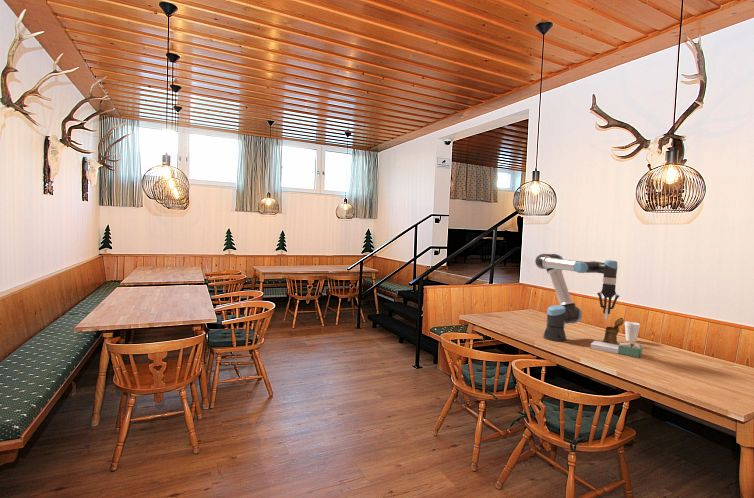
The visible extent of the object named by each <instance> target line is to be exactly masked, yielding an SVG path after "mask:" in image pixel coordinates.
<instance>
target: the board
mask: <svg viewBox="0 0 754 498" xmlns="http://www.w3.org/2000/svg"><path fill="white" fill-rule="evenodd" d="M618 347H619V344H617V345H615V344H610V343H605V342H603V341H598V340H593V341H592V342H591V343H590V349H592V350H597V351H601V352H607V353H612V354H616V355H619V354H618Z"/></svg>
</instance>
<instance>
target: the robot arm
mask: <svg viewBox="0 0 754 498" xmlns="http://www.w3.org/2000/svg"><path fill="white" fill-rule="evenodd" d="M534 262H535V263H534V264H535V265H536V267H537V268H539V269H540V270H541V269H542V270H546V273H547V274H549V276H550V278H551V282H552V285H553V288H554V291H555V294H556V297H557V300H558V303H559V305H556V304H555V305H550V306H549V307H548V308H547V311H546V314H547V315H546V328H545V329H544V332H543V335H542V337H543V338H544V339H545V340H549V341H553V342H565V341H566V340H567V335H566V331H565V324H576V323H578V322H580V321H581V320H582V317H583V313H582V310H581V308H579V307H578V306H577V305H576V303H575V302H574V301H572V297H571V295H570V292H569V289H568V286H567V282H566V280H565V277H564V274H563V271H570V272H575V273H578V274H587V273H588V274H591V273H592V274H603V278H602V282H603V283H602V287H601V290H600V292H597V295H598V300H599V304H600V308H602V309H603V310H602V312H603V315H604V319H605V320H608V318H609V315H610V314H611V310H613V309H614V308H615V306H616V303H617V301H618V299H619V297H620V295H619V294H617V292H616V286H617V285H616V284H617V275H618V274H617V273H618V268H619V266H618V261H617V260H611V259H610V260H609V259H606V260H604V262H602V261H601V262H600V261H595V260H590V261H582V260H572V259H566V258H565V259H564V258H563V256H562V255H559V253H558V254H557V253H540V254H539V255H537V256H536V257H535V261H534ZM602 296H603V297H604V298H603V297H602ZM613 297H614V300H613V302H612V298H613ZM607 302H608V304H607Z"/></svg>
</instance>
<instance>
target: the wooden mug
mask: <svg viewBox="0 0 754 498" xmlns="http://www.w3.org/2000/svg"><path fill="white" fill-rule="evenodd" d="M624 322H625V321H624V318H623V317H620V318H618V319H616V320H615V322H614V326H613V327H612V326H606V328H605V330H604V331H605V332H604V336H603V337H604V338H603V341H602V342H605V343H610V344H615V345H618V339H617V338H618V337H617V336H618V335H619V331H620V329H619V327H621V326H622V325H623V324H624Z"/></svg>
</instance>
